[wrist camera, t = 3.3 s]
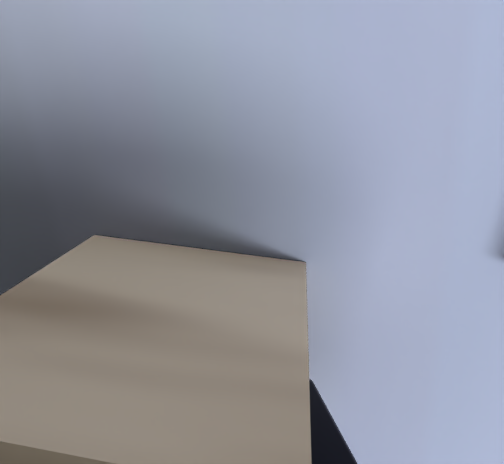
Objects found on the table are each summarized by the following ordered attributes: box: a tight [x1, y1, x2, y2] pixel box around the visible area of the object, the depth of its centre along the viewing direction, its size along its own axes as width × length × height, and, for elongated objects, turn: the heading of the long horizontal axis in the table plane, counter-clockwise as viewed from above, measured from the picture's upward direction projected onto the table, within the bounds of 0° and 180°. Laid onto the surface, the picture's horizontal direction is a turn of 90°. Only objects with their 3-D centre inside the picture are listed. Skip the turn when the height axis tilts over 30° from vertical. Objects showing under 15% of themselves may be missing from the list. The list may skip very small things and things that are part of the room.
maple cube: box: [0, 235, 312, 464], centre depth 7 cm, size 5×5×5 cm
